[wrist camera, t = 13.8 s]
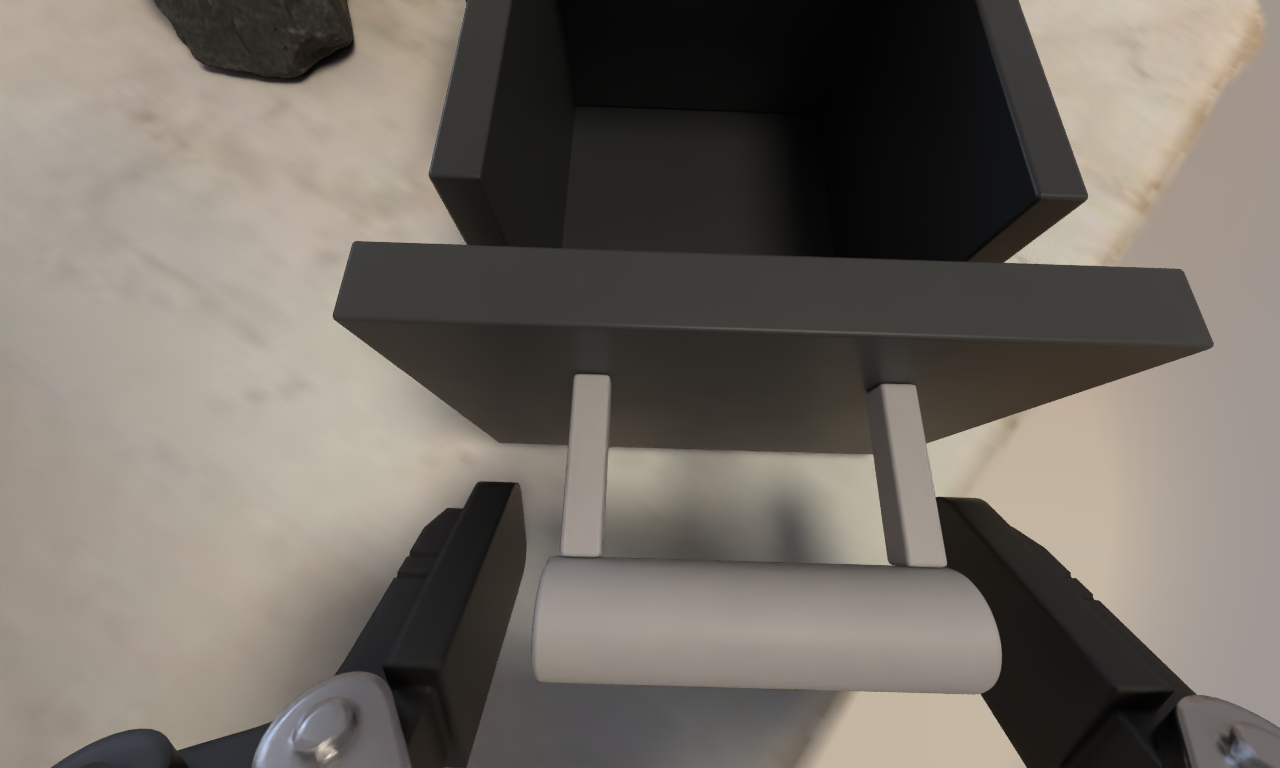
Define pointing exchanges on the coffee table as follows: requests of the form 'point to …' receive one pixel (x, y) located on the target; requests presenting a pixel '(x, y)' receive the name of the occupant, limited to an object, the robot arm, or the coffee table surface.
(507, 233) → the drawer
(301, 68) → the rock
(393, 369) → the coffee table surface
